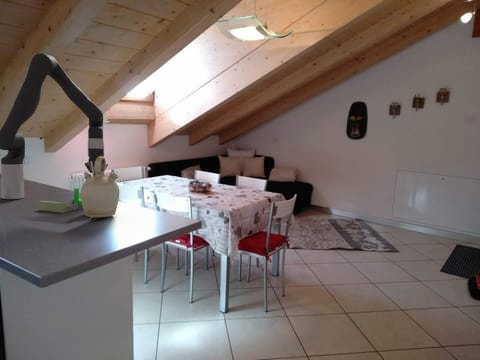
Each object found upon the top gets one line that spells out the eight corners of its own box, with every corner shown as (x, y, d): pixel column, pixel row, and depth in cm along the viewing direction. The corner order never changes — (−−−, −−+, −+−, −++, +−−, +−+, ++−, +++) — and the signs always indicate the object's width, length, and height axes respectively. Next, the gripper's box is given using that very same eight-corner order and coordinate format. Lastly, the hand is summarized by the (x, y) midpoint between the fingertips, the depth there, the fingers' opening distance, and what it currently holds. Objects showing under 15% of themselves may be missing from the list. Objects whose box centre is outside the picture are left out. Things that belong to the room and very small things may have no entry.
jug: (126, 212, 154) (126, 156, 151) (104, 219, 139) (103, 157, 136) (97, 209, 158) (96, 154, 155) (72, 216, 143) (71, 155, 140)
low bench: (39, 210, 153) (38, 201, 152) (55, 206, 161) (55, 198, 161) (63, 212, 149) (63, 203, 149) (78, 209, 158) (78, 200, 157)
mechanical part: (87, 204, 169) (87, 188, 168) (74, 205, 167) (74, 189, 166) (86, 200, 180) (86, 185, 179) (74, 201, 177) (73, 185, 177)
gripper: (79, 147, 174) (80, 181, 176) (102, 148, 170) (102, 183, 172) (90, 147, 181) (90, 180, 183) (111, 147, 178) (112, 181, 179)
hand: (96, 181), depth 178 cm, fingers closed
